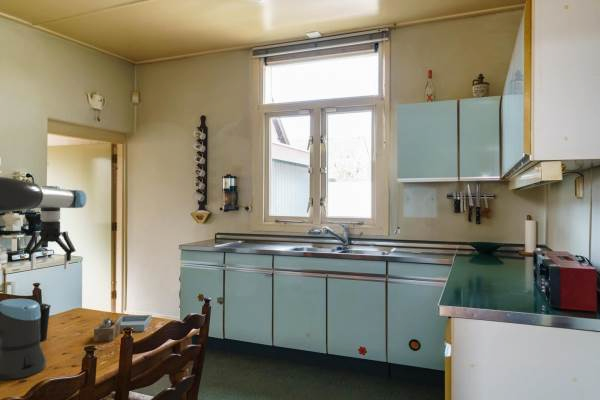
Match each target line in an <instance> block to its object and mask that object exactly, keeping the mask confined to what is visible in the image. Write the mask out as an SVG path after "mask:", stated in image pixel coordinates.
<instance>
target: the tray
mask: <svg viewBox="0 0 600 400" xmlns="http://www.w3.org/2000/svg"><path fill="white" fill-rule="evenodd" d="M152 320H153V316H152V314H136V315H135V314H134V315H131V314H130V315H121V316H120V317H118V319H117V320H116V321H121V327H120V333H123V332H122V330H123V328H126V327H131V328H133V331H135V332H136V333H137V332H145V331H146V329H148V327H149V326H150V324H151V323H152ZM150 322H151V323H150Z"/></svg>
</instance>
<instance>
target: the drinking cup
mask: <svg viewBox="0 0 600 400" xmlns="http://www.w3.org/2000/svg"><path fill="white" fill-rule="evenodd" d="M38 303H39V305H40V313H41V317H40V343H41V342H45V341H47V335H48V331H49V330H48V327H49V320H50V309H51V307H52V306H51V304H49V303H42V291H41V290H39V291H38Z"/></svg>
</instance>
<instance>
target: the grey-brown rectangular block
mask: <svg viewBox="0 0 600 400" xmlns="http://www.w3.org/2000/svg"><path fill="white" fill-rule="evenodd" d="M110 320H111V327H110V328H103V321H101V322H100V323H99V324H98V325H97V326H96V327H95V328H93V342H113V341H115V339H116V338H117V337H118V336H119V335H120V334H121V332H120V327H121V321H117V320H116V321H115V320H114V319H113V318H111V319H110Z"/></svg>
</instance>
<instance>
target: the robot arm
mask: <svg viewBox="0 0 600 400" xmlns="http://www.w3.org/2000/svg"><path fill="white" fill-rule="evenodd" d="M86 203H87V194H86V192H85V191H84V190H80V189H75V190H72V189H65V188H64V189H63V188H60V186H56V185H42V186H40V185H39V184H37V183H35V182H33V181H32V182H31V181H26V180H21V179H16V178H11V177H7V176H0V213H7V212H8V213H9V212H17V211H23V210H24V211H25V210H33V209H40V220H41V221H40V226H39V227H40V228H39V229H40V231H33V232H32V234H31V238H30V240H29V241H28V243H27V245H26V247H25V248H24V251H23V253H25V254H28V262H30V269H31V270H34V269H35V270H36V268H37V267H36V266H37V263H36V261H37V260H36V259H37V256H36V255H37V254H36V253H35V252H36V251H37V250H38V249H39V248H40V247H41V246H42V245H43V244H44V243H48V242H51V243H53V242H54V243H57V245H59V247H60V248H61V249H62V250H63V251H64V252H65V253H64V258H63V259H64V261H63V262H64V263H63V264H64V267H63V268H64V269H69V263H70V261H71V260H72V259H71V258H72V257H71V256H72V253H74V252H76V248H75V246H74V244H73V243H72V240H71V238H70V237H69V232H68V231H61V221H60V220H61V209H63V208H64V209H80V208H81V209H82V208H84V207H85V206H86ZM39 236H40V239H39V240H38V241H37V238H39ZM61 236H62V237H63V240H64V241H65V243H64V241H63V240H62V239H61V238H60V237H61ZM36 241H37V242H36ZM35 242H36V243H35ZM34 244H35V245H34ZM40 317H41V313H40V305H39V302H37V301H36V300H34V299H28V298H8V299H4V300H1V301H0V381H8V380H17V379H22V378H27V377H30V376H33V375H36V374H38V373H41V372H42V371H43V370H45V368H46V366H47V359H46V356H45V354H44V351H43V349H42V346H41V342H40Z"/></svg>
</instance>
